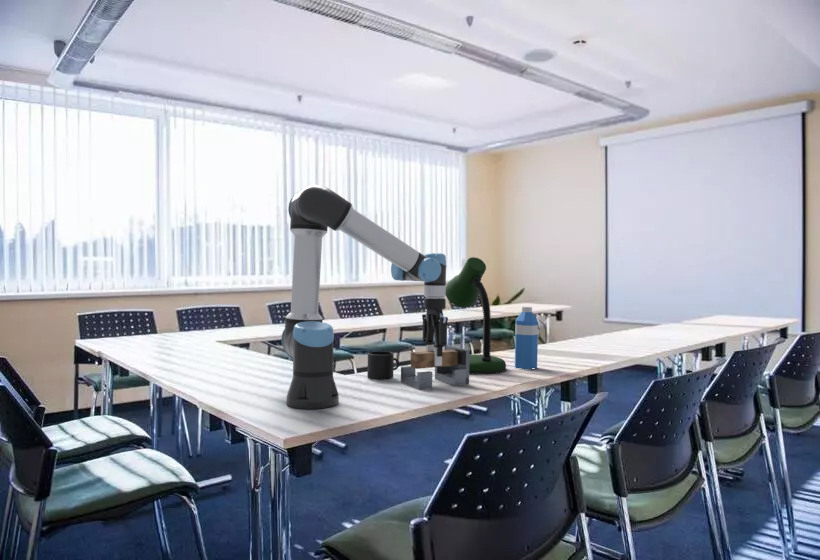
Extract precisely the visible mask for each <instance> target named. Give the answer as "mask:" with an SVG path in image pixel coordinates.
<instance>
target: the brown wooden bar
mask: <svg viewBox="0 0 820 560" xmlns="http://www.w3.org/2000/svg"><path fill="white" fill-rule="evenodd" d="M410 366H411V367H413V368H415V370H416V369H417V370H419V369H420V370H421V369H430V368H431V369H432V368H435V367H446V366H457V351H454V350H446V349H442V366H434V351H426V350H424V351H411V352H410Z"/></svg>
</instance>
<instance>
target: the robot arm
mask: <svg viewBox="0 0 820 560" xmlns="http://www.w3.org/2000/svg"><path fill="white" fill-rule="evenodd" d="M287 209H288V214H289V218H290V223H289V225H290V226H289V227H290V228H289V230H290V232H291V233H292V234H293V236H294V242H293V243H294V245H293V263H292V279H291V281H292V282H291V299H290V312H289V313H287V315H286V316H284V317H285V321H284V329H283V331H282V334H281V341H280V342H281V345H282V348H283V350H284V352H285V353H286V354H287V355H288V356H289V357H290V358H292V380H291V382H290V385H289V388H288V390H287V395H286V405H287V406H289V407H290V408H295V409H301V410H302V409H304V410H305V409H306V410H319V409H324V408H325V409H326V408H330V407H334V406H337V405H338V404H339V400H340V399H339V398H340V396H339V391H338V388H337V385H336V381H335V378H334V343H335V342H334V341H335V334H334V327H333V326H332V325H331V324H329V323H327V322H323V317H322V315H320V313H319V303H320V288H321V287H320V286H321V269H322V268H321V267H322V265H321V264H322V250H323V248H322V247H323V246H322V245H323V237H325V236H326V234H327V233H328V229H329V228H330V229H331V230H333V231H335V232H336V231H340V232H343V233H344V234H345V235H347V236H349V237H350V238H352V239H353V240H355V241H356V242H358V243H359V244H361V245H363V246H364V247H366V248H368V249H369V250H371V251H372V252H374V253H375V254H377V255H379V256H380V257H382V258H383V259H385V260H387V261H388V262H389V263H391V265H390V274H391V277H392V279H393V280H394V281H401V282H405V281H407V282H410V281H411V282H423V287H424V288H423V296H424V297H425V298H424V299H423V308H424V309H425V310H426V313H425V314H424V313H423V314H422V315H421V317H422V319H421V320H422V342H423V343H424V344H425V345H426V346H425V347H426V348H425V349H426V350H425V351H434V366H442V350H443V347H446V346H447V345H448V344H447V342H448V341H447V340H448V339H447V337H448V336H447V335H448V320H449V318H448V316H444V312H443V310H446V306H447V305H446V303H447V302H446V298H445V297H446V286H447V256H446V254H444V253H440V252H439V253H438V252H437V253H433V252H432V253H431V252H430V253H424V254H423V253H421V252H419V251H418V250H416V249H415V248H413V246H410V245H409V244H408V243H405V241H403V240H401V239H400V238H398V237H397V236H395V235H393V234H392V233H391V232H389V231H388V230H386V229H385V228H383V227H381V226H380V225H378V224H377V223H375V222H374V221H373V220H371V219H370V218H368V217H366V216H365V215H363V214H362V213H360V212H359V211H357V210H356V209H354V206H353V203H351V202H350V201H348V200H346V199H345V198H343V197H342V196H341V195H339V194H338V193H336V192H335V191H333V190H332V189H330V188H328V187H327V186H324V185H320V184H312V185H308V186H307V187H305V188H303V189H300V190H298V191H297V192H296V193H294V194H293V196H292V197H291V199H290V201H289V203H288V207H287ZM434 340H435V341H434Z"/></svg>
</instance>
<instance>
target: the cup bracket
mask: <svg viewBox="0 0 820 560" xmlns="http://www.w3.org/2000/svg"><path fill="white" fill-rule="evenodd" d="M445 350H454V351H457V366H446V367H434V380H436V381H438V382H441V383H445V384H448V385H451V386H453V387H458V386H468V385H470V374H469V360H470V355H471V353H470V351H471V350H470V349H467V348H463V347H459V346H453V345H449V344H447V345H446V346H445Z"/></svg>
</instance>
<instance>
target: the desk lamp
mask: <svg viewBox="0 0 820 560" xmlns="http://www.w3.org/2000/svg"><path fill="white" fill-rule="evenodd" d="M462 267H463V268H461V271H460V272H459V274H457V275H455V276H454V277H453V278H451V279H450V280H449V281H448V282H447V283H446V296H445V297H446V298H447V299H448V301H449V302H450V303H451V304H452V305H454V306H456V307H459V308H471V307H473V306H474V305H475V304H476V302H477V300H478V299H480V303H481V308H482V322H483V323H482V330H483V331H482V354H470V360H469V375H494V374H495V375H496V374H502V373H506V371H507V363H506V361H505V360H504V359H503V358H501V357H498V356H493V355H491V346H492V345H491V342H492V341H491V339H492V338H491V336H492V331H491V330H492V328H491V327H492V314H491V312H492V311H491V305H490V300H489V296H488V292H487V291H486V287H485V286H484V283H482V282H481V281H482V278H483V275H484V274H485V272H486V270H487V266H486V263H485V261H483V259H481V258H478V257H474V256H473V257H469V258H468V259H467V260H466V261H465V263H464V265H463V266H462ZM478 297H479V298H478Z"/></svg>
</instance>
